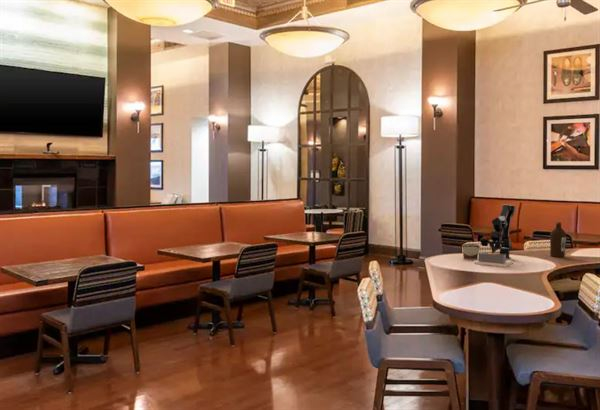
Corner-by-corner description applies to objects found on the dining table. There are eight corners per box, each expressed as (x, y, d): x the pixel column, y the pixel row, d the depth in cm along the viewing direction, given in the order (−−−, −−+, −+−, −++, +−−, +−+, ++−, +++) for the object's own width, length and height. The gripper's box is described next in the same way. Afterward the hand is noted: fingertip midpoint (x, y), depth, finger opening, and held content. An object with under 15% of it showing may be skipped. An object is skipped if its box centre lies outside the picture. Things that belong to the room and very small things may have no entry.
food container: (477, 257, 396) (478, 243, 395) (479, 259, 390) (480, 245, 389) (459, 257, 397) (460, 243, 397) (461, 258, 391) (461, 244, 390)
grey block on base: (482, 260, 386) (482, 249, 386) (512, 262, 375) (513, 252, 375) (474, 263, 371) (474, 253, 370) (505, 266, 360) (506, 255, 359)
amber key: (489, 257, 372) (489, 252, 372) (496, 257, 370) (496, 253, 369) (487, 257, 368) (487, 253, 368) (494, 258, 366) (494, 254, 366)
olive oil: (546, 256, 407) (548, 222, 405) (552, 255, 414) (554, 221, 413) (561, 258, 399) (563, 223, 398) (567, 256, 407) (569, 222, 405)
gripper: (481, 225, 378) (476, 243, 370) (510, 227, 368) (505, 246, 360) (484, 236, 385) (479, 254, 377) (512, 238, 375) (508, 256, 367)
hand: (492, 252), depth 370 cm, fingers closed, pressing on amber key
